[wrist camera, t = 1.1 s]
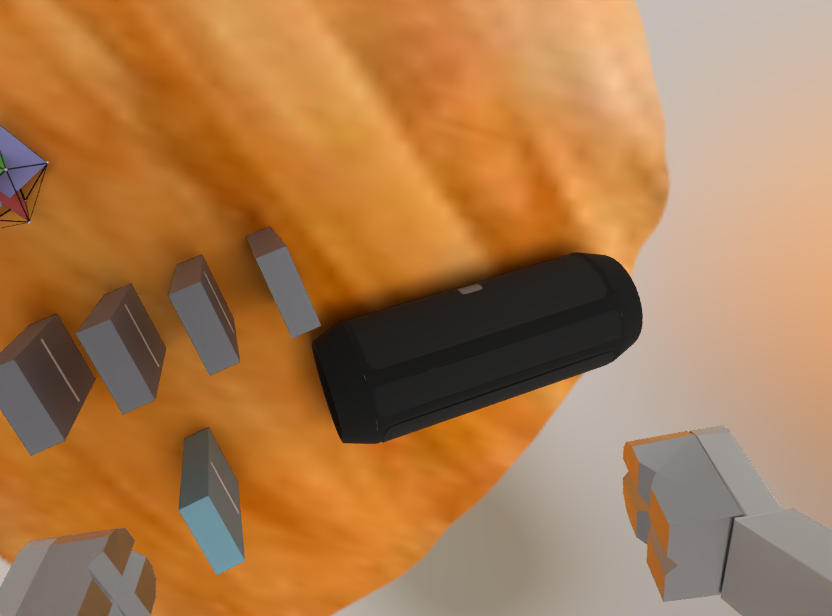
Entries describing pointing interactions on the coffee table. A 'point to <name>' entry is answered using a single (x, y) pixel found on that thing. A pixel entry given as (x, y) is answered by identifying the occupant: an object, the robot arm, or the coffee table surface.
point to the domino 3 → (204, 314)
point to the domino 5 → (283, 281)
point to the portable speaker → (475, 345)
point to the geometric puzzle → (16, 172)
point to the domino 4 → (211, 502)
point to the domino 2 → (124, 348)
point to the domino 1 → (43, 384)
